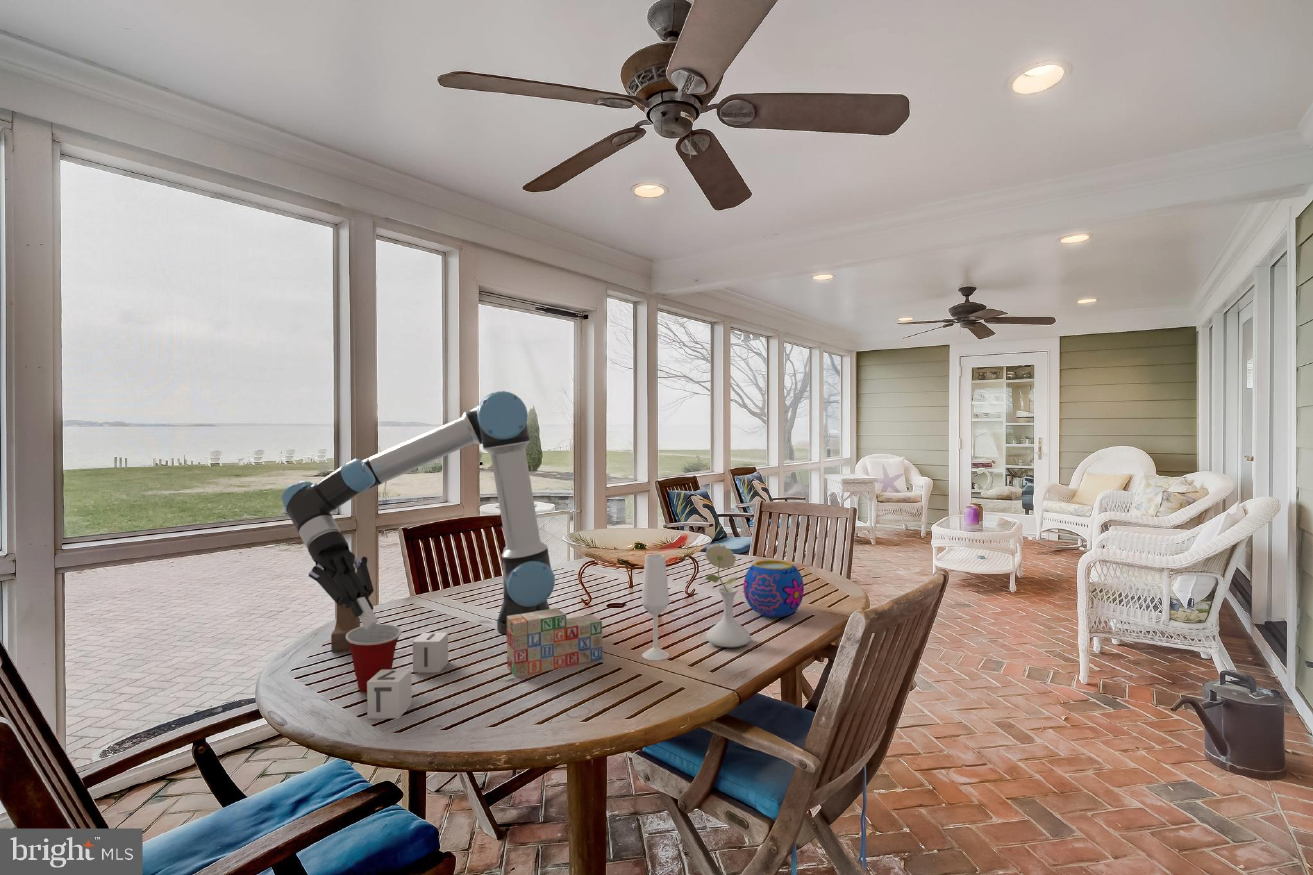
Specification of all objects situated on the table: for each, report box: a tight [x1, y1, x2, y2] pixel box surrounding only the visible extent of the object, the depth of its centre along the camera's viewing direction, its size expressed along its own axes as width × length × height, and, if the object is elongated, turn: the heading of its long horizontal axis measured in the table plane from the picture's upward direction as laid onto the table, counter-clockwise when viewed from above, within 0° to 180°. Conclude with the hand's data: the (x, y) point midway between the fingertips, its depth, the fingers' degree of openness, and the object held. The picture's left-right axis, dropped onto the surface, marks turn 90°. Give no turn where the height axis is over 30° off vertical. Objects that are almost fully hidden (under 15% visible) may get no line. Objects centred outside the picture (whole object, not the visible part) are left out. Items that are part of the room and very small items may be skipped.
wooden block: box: [330, 570, 361, 652], centre depth 155 cm, size 9×4×18 cm, turn 12°
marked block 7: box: [366, 668, 413, 719], centre depth 118 cm, size 6×6×7 cm
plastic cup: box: [346, 623, 402, 694], centre depth 129 cm, size 11×11×12 cm
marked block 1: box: [412, 632, 449, 673], centre depth 140 cm, size 6×6×7 cm
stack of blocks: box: [505, 607, 604, 678], centre depth 142 cm, size 21×6×12 cm, turn 119°
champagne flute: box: [641, 553, 670, 661], centre depth 147 cm, size 7×7×24 cm
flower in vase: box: [704, 543, 752, 648], centre depth 155 cm, size 13×11×25 cm
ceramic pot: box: [742, 559, 805, 618], centre depth 178 cm, size 18×18×15 cm
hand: (372, 625), depth 129 cm, fingers closed
